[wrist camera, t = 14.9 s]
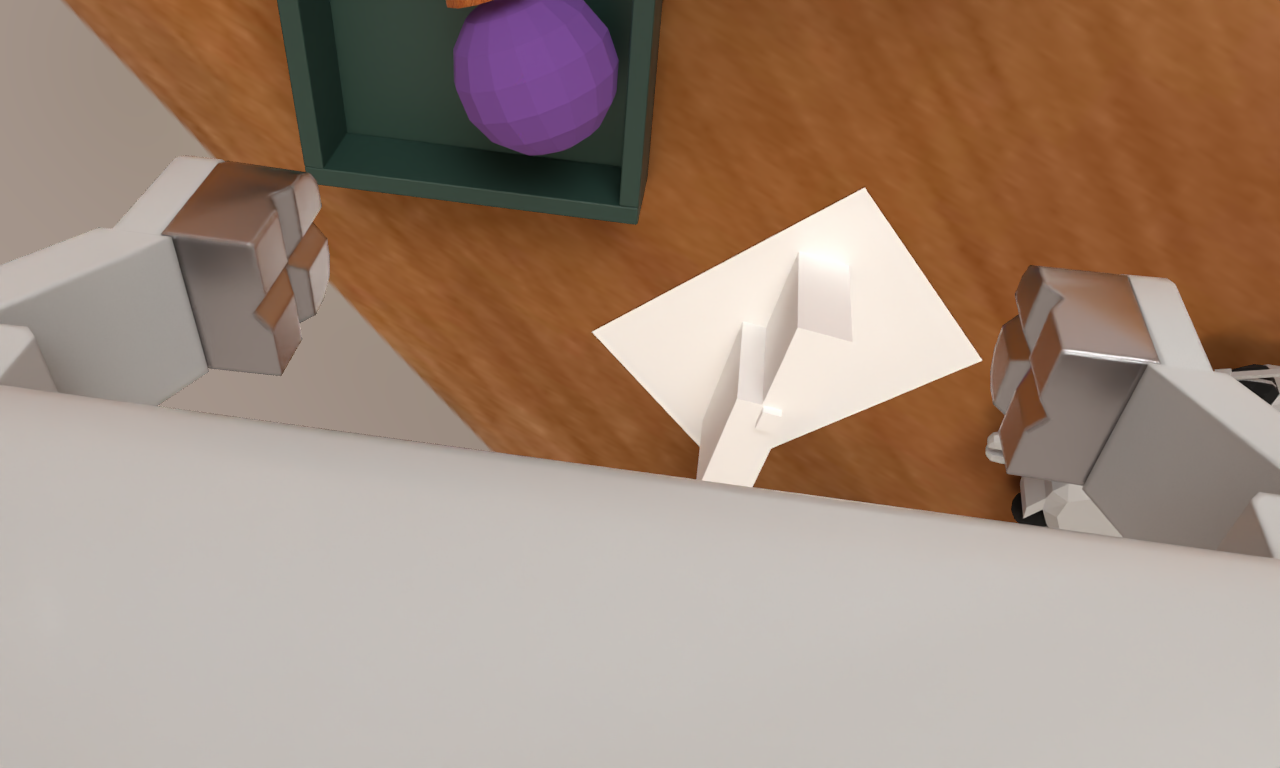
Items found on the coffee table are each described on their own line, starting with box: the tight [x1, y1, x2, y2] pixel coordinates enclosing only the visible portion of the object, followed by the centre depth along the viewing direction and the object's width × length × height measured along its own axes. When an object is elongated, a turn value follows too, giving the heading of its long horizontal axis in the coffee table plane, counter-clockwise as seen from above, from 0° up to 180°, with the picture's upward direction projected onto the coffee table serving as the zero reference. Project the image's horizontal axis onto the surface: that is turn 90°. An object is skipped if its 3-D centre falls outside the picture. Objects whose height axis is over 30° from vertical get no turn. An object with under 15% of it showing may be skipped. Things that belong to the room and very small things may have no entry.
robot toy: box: [986, 364, 1280, 538], centre depth 50 cm, size 12×4×15 cm
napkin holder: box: [592, 188, 982, 487], centre depth 48 cm, size 15×11×6 cm
